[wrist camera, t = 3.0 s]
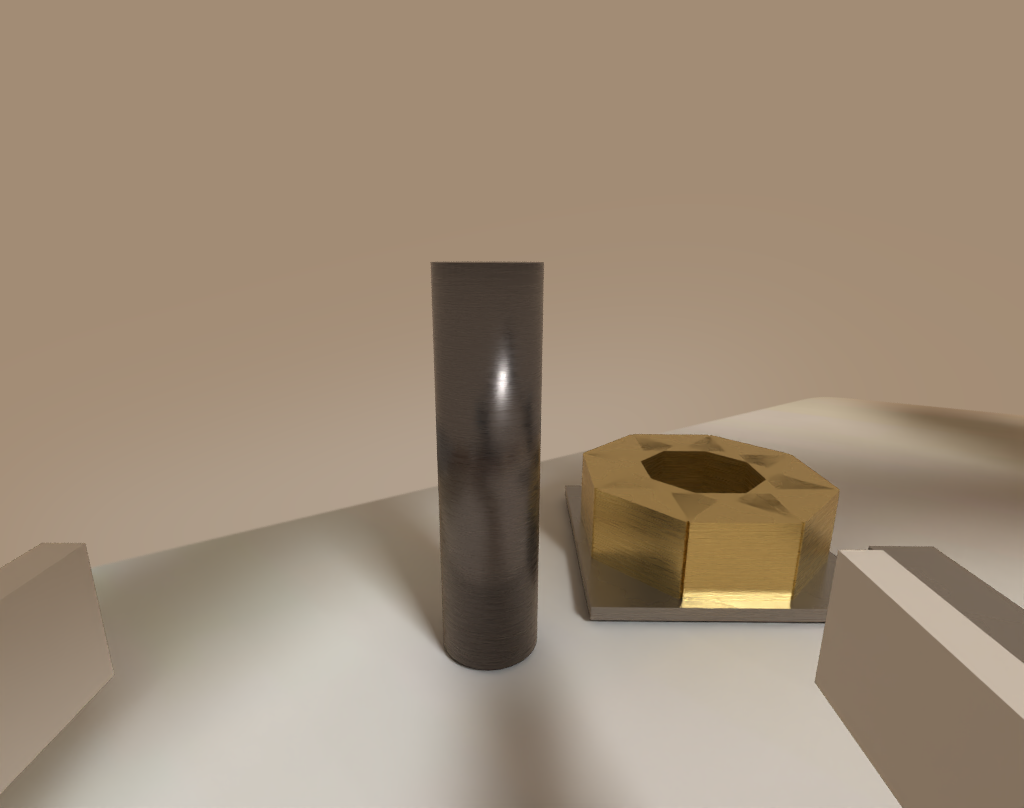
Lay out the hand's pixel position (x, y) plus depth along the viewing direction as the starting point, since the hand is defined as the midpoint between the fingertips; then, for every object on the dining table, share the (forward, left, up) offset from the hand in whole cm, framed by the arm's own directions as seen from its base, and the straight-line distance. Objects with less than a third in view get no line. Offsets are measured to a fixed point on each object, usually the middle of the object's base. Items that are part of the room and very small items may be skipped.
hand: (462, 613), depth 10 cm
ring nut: (-10, -17, -8) cm, 21 cm away
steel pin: (0, -10, -8) cm, 13 cm away
